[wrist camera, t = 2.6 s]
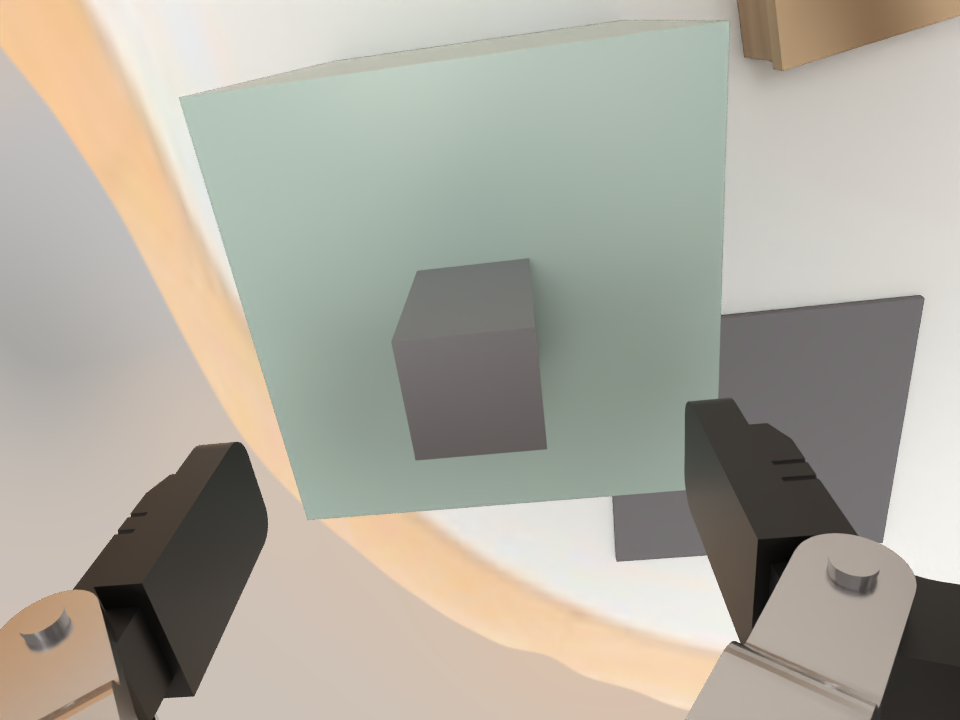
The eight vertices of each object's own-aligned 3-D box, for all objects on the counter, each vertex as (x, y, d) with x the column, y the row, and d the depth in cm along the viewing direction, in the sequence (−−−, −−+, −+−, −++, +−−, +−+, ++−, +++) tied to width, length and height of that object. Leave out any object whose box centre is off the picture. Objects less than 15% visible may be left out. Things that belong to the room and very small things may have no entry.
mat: (920, 295, 35) (924, 298, 34) (879, 538, 42) (882, 542, 41) (603, 327, 36) (604, 330, 36) (615, 557, 43) (616, 561, 43)
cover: (622, 20, 30) (808, 21, 11) (631, 297, 35) (765, 598, 17) (331, 61, 31) (72, 122, 12) (386, 323, 36) (262, 631, 18)
